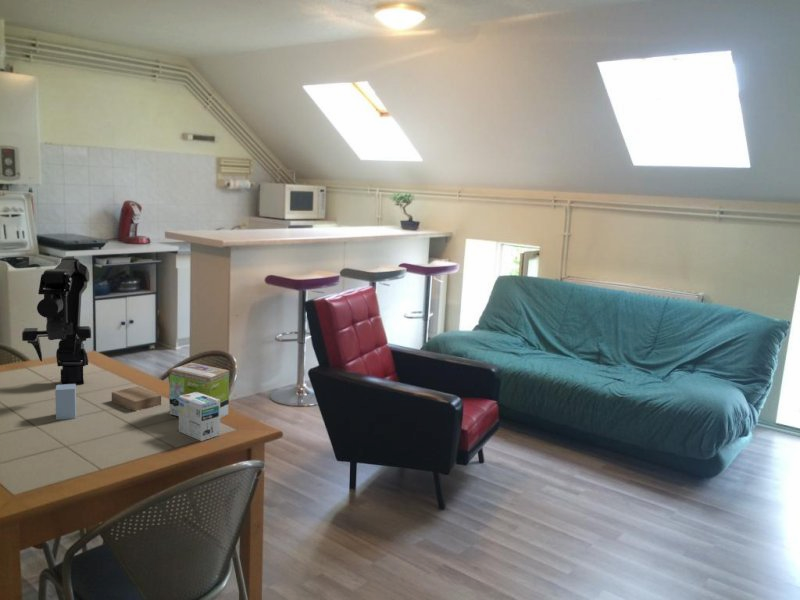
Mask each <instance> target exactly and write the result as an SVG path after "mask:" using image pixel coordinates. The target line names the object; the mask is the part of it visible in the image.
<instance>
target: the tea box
mask: <svg viewBox="0 0 800 600" xmlns="http://www.w3.org/2000/svg"><path fill="white" fill-rule="evenodd" d="M194 392H199V393H202V394H205V395H207V396H210V397H213V398H217V399H220V419H222V418H224V417H227V416H228V415H229V403H230V402H229V399H230V397H229V396H230V369H229V370H228V369H223V368H220V367H215V366H209V365H206V364H205V365H204V364H200V363H195V362H191V361H190V362H189V363H185V364H183V365H181V366H180V365H179V366H177V367H174V368H171V369H169V402H168V403H169V415H171V416H175V417H179V396H181V395H186V394H190V393H194Z"/></svg>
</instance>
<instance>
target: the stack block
mask: <svg viewBox="0 0 800 600" xmlns="http://www.w3.org/2000/svg"><path fill="white" fill-rule="evenodd" d="M111 402H112V403H115V404H116V403H117V405H119V404H120V405H119V406H121V405H122V407H124V406H125V407H124V408H126V407H127V408H126V409H128V408H130V409H129V410H130V411H131V410H132V411H133V410H134V411H133V412H138V411H137V410H139V411H142V409H143V410H146V409H151V408H154V406H155V407H158V405H159V406H161V405H162V395H161V394H158V393H155V392H153V391H150V390H147V389H145V388H143V387H140V386H138V385H137V386H133V387H128V388H125V389H120V390H115V391H112V392H111Z"/></svg>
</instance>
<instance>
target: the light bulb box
mask: <svg viewBox="0 0 800 600" xmlns="http://www.w3.org/2000/svg"><path fill="white" fill-rule="evenodd" d="M178 432H179V433H181V434H184V435H186V436H189V437H191V438H193V439H196V440H198V441H200V442H203V441H206V440H209V439H212V438H215V437H216V438H217V437H219V436H221V418H220V399H217V398H213V397H210V396H207V395H205V394H202V393H199V392H194V393H190V394H186V395H181V396H179V416H178Z"/></svg>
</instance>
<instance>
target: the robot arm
mask: <svg viewBox="0 0 800 600" xmlns="http://www.w3.org/2000/svg"><path fill="white" fill-rule="evenodd" d="M89 282H90V271H89V269H88V267H87V266H86V265H84V264H83V263H82V262H80V259H79V258H76V257H75V258H74V257H71V258H70V257H64V258H61V261H60V263H58V264H57V266H56V267H55V268H52V269H46V270H44V271H43V273H41V275H40V279H39V285H38V287H39V288H38V291H37V293H38V295H43V298H42V299H41V300H39V302H38V303H37V305H36V311H37V313H38V314H39V315H40V316H41V317H42V318H46V326H45V327H46V329H45V330H38V327H25V328H23V330H22V332H21V333H22V334H21V339H22V341H23V342H26V343H27V344H31V345H32V346H33V348H34V349H35V351H36V354H37V357H38V358H39V360H40V362H43V354H42V347H41V341H40V338H47V339H48V340H49V341H54V340H55V341H56V340H59V342H58V348H57V350H56V355H55V358H56V364H57V367H62V368H60V383H61V384H62V385H63V384H76V385H84V384H85V380H84V367H86V366H88V365H89V356H88V353H87V351H86V349H85V344H84V342H86V341H87V339H91V338H92V329H91V327H90V326H89V325H85V326H83V325H82V326H81V309H82V296H83V293H84V292H85V291H86V289H87V288H88V283H89Z"/></svg>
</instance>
